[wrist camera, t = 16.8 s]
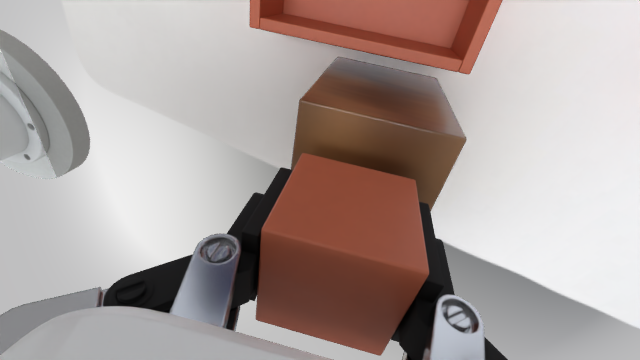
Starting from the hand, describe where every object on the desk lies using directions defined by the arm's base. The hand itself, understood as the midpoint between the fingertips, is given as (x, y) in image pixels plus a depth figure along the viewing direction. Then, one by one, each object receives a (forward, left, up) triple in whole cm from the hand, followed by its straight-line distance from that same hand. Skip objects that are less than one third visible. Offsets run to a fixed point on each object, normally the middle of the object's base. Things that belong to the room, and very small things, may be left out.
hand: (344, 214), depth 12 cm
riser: (0, 0, -12) cm, 12 cm away
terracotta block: (0, 0, 0) cm, 0 cm away
